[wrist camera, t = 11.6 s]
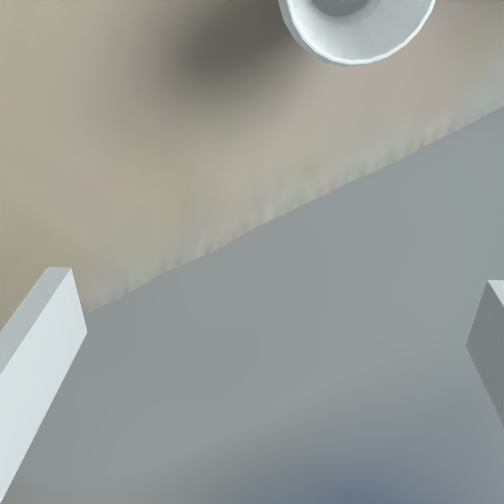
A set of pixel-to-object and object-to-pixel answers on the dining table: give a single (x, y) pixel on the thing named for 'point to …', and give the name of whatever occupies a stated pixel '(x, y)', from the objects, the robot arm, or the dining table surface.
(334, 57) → the cup
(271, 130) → the dining table surface
